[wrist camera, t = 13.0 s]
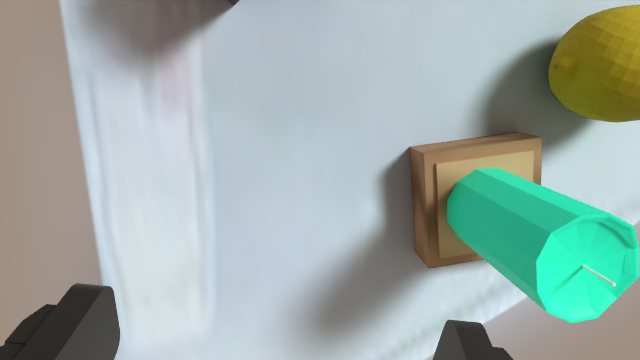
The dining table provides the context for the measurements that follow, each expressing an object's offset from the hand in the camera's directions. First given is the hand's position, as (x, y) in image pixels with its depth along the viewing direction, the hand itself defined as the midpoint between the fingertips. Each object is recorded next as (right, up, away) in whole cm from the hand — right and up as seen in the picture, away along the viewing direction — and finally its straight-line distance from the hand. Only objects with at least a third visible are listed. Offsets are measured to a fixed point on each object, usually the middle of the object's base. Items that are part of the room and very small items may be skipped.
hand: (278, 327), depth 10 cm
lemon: (+22, +13, +23) cm, 34 cm away
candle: (+13, +2, +21) cm, 25 cm away
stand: (+13, +3, +24) cm, 27 cm away
